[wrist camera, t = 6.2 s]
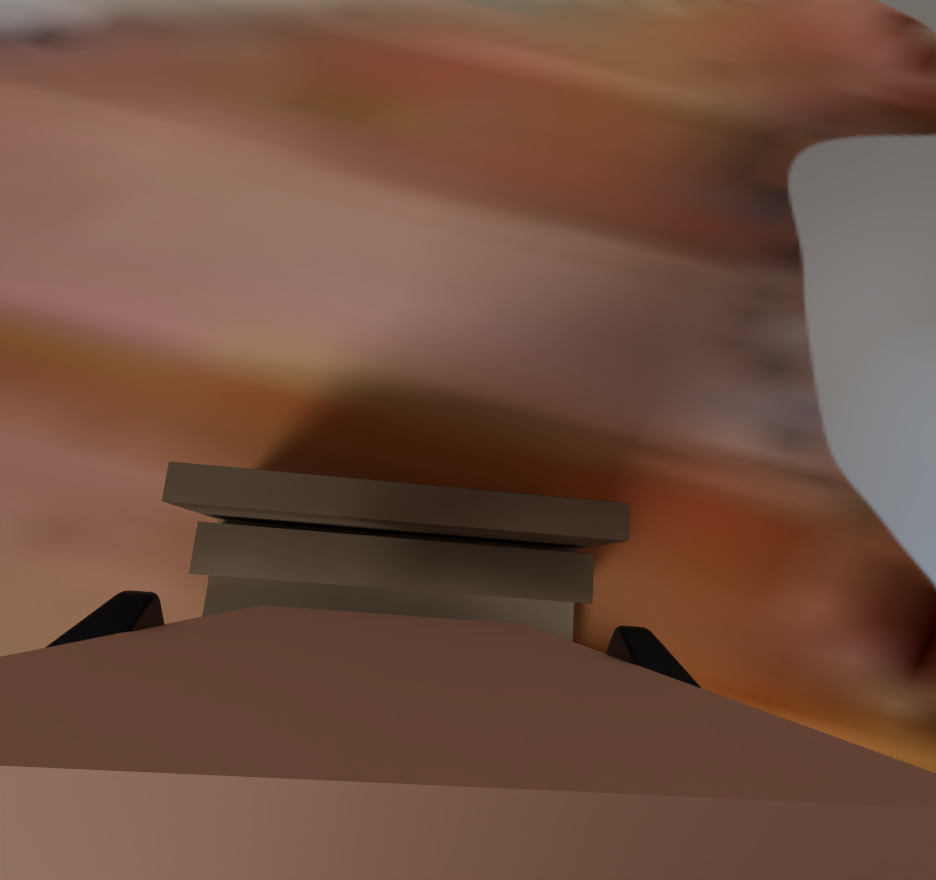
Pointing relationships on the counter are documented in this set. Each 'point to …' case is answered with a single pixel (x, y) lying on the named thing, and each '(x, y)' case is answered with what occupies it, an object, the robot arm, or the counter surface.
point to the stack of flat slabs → (392, 546)
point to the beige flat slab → (422, 762)
